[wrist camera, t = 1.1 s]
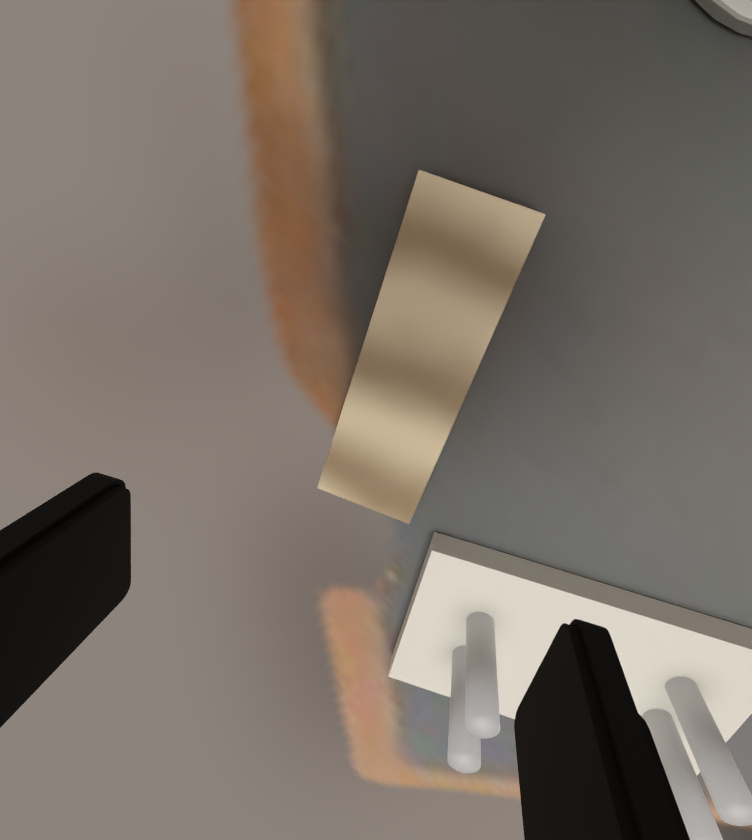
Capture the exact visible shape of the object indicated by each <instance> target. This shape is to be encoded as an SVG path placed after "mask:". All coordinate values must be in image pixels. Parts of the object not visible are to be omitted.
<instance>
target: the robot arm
mask: <svg viewBox="0 0 752 840" xmlns="http://www.w3.org/2000/svg"><path fill="white" fill-rule="evenodd" d="M695 1H696V2H697V3H698V4H699V5H700V6H701V7H702V8H703V9H704V10H705V11H706V12H707V13H708V14H709V15H710V16H711V17H712V18H713V19H715V20H716V21H718V22H720V23H722V24H724V25H725V26H727V27H729V28H731V29H733V30H734V31H736V32H738V33H740V34H743V35H747V36H751V37H752V0H695ZM130 506H131V505H130V492H129V490H128V489H126V487H125V483H124V482H123V481H122V480H120V479H117V478H113V477H110V476H107V475H103V474H100V473H92V474H90V475H88V476H87V477H85V478H83V479H82V480H80V481H79V482H77V483H75V484H74V485H72V486H71V487H69V488H67V489H66V490H64V491H63V492H61V493H59V494H58V495H56V496H55V497H53V498H51V499H50V500H48V501H47V502H45V503H43V504H42V505H40V506H39V507H37V508H35V509H34V510H32V511H31V512H29V513H27V514H26V515H24V516H23V517H21V518H19V519H18V520H16V521H15V522H13V523H11V524H10V525H8V526H7V527H5V528H3V529H2V530H0V727H1V726H2V725H3V724H4V723H5V722H6V721H7V720H8V719H9V718H10V717H11V716H12V715H13V714H14V713H15V712H16V711H17V709H19V707H20V706H21V705H22V704H23V703H24V702H25V701H26V700H27V699H28V698H29V697H30V696H31V695H32V694H33V693H34V692H35V691H36V690H37V689H38V688H39V687H40V686H41V684H42V683H43V682H44V681H45V680H46V679H47V678H48V677H49V676H50V675H51V674H52V673H53V672H54V671H55V670H56V669H57V668H58V667H59V666H60V664H62V662H63V661H64V660H65V659H66V658H67V657H68V656H69V655H70V654H71V653H72V652H73V651H74V650H75V649H76V648H77V647H78V646H79V645H80V644H81V643H82V642H83V640H85V638H86V637H87V636H88V635H89V634H90V633H91V632H92V631H93V630H94V629H95V628H96V627H97V626H98V625H99V624H100V623H101V622H102V621H103V620H104V619H105V618H106V617H107V615H108V614H109V613H110V612H111V611H112V610H113V609H114V608H115V607H116V606H117V605H118V604H119V603H120V602H121V601H122V600H123V598H124V597H125V596H126V594H127V592H128V590H129V587H130V583H131V521H130V520H131V508H130ZM514 727H515V740H516V751H517V762H518V773H519V783H520V794H521V805H522V816H523V826H524V837H525V840H690V838H689V835H688V832H687V830H686V827H685V824H684V822H683V819H682V816H681V813H680V811H679V808H678V805H677V803H676V800H675V797H674V794H673V792H672V789H671V786H670V783H669V781H668V778H667V775H666V773H665V770H664V767H663V764H662V762H661V759H660V756H659V753H658V751H657V748H656V745H655V743H654V740H653V737H652V734H651V732H650V729H649V727H648V725H647V723H646V721H645V720H644V719H643V718H642V716H641V715H640V714H638V711H637V709H636V706H635V703H634V700H633V697H632V695H631V692H630V689H629V686H628V683H627V680H626V678H625V675H624V672H623V669H622V666H621V664H620V661H619V658H618V655H617V652H616V650H615V647H614V644H613V641H612V638H611V635H610V633H609V631H608V630H607V629H606V628H605V627H602V626H598V625H595V624H592V623H589V622H585V621H582V620H579V619H574V620H573V621H572V622H571V623H570V625H569V624H566V623H563V624H562V625H561V626H560V628H559V630H558V632H557V634H556V636H555V637H554V639H553V641H552V643H551V645H550V647H549V649H548V651H547V653H546V655H545V657H544V659H543V661H542V662H541V664H540V666H539V668H538V670H537V672H536V674H535V676H534V678H533V680H532V682H531V684H530V686H529V687H528V689H527V691H526V693H525V695H524V697H523V699H522V701H521V703H520V705H519V707H518V709H517V712H516V716H515V725H514Z"/></svg>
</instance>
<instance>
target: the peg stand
mask: <svg viewBox="0 0 752 840" xmlns="http://www.w3.org/2000/svg"><path fill="white" fill-rule="evenodd" d="M574 619H579V620H582V621H585V622H589V623H592V624H595V625H598V626H602V627H605V628H606V629H607V630H608V631H609V633H610V635H611V638H612V641H613V644H614V647H615V650H616V652H617V655H618V658H619V661H620V664H621V666H622V669H623V672H624V675H625V678H626V680H627V683H628V686H629V689H630V692H631V695H632V697H633V700H634V703H635V706H636V709H637V711H638V714H640V715H641V716H642V718H643V719H644V720H645V721H646V723H647V725H648V727H649V729H650V732H651V734H652V737H653V740H654V743H655V745H656V748H657V751H658V753H659V756H660V759H661V762H662V764H663V767H664V770H665V773H666V775H667V778H668V781H669V783H670V786H671V789H672V792H673V794H674V797H675V800H676V803H677V805H678V808H679V811H680V813H681V816H682V819H683V822H684V824H685V827H686V830H687V832H688V835H689V838H690V840H723V839H722V836H721V834H720V831H719V829H718V827H717V824H716V822H715V819H714V817H713V814H712V812H711V810H710V807H709V805H708V802H707V800H706V797H705V795H704V793H703V790H702V788H701V785H700V783H699V781H698V778H697V775H698V774H699V773H700V772H701V774H702V777H703V779H704V781H705V784H706V786H707V788H708V791H709V793H710V796H711V798H712V800H713V803H714V805H715V807H716V810H717V812H718V814H719V817H720V818H721V819H722V820H723V821H724V822H726V823H728V824H731V825H736V826H747V825H751V824H752V795H751V793H750V791H749V789H748V787H747V785H746V783H745V781H744V779H743V777H742V775H741V773H740V771H739V769H738V767H737V765H736V763H735V761H734V759H733V757H732V755H731V753H730V751H729V749H728V747H727V745H726V742H727V741H728V740H729V739H730V737H731V736H732V735H733V734H734V733H735V732H736V731H737V729H738V728H739V727H740V726H741V725H742V724H743V723H744V721H745V720H746V719H747V718H748V717H749V716H750V715H751V713H752V629H751V628H747V627H744V626H741V625H738V624H734V623H731V622H728V621H725V620H721V619H718V618H715V617H712V616H708V615H705V614H702V613H698V612H695V611H692V610H689V609H685V608H682V607H679V606H676V605H672V604H669V603H666V602H663V601H659V600H656V599H653V598H650V597H646V596H643V595H640V594H636V593H633V592H630V591H627V590H623V589H620V588H617V587H614V586H610V585H607V584H604V583H601V582H597V581H594V580H591V579H587V578H584V577H581V576H578V575H574V574H571V573H568V572H565V571H561V570H558V569H555V568H552V567H548V566H545V565H542V564H539V563H535V562H532V561H529V560H525V559H522V558H519V557H516V556H512V555H509V554H506V553H503V552H499V551H496V550H493V549H490V548H486V547H483V546H480V545H477V544H473V543H470V542H467V541H463V540H460V539H457V538H454V537H450V536H447V535H444V534H441V533H437V532H434V534H433V537H432V540H431V543H430V546H429V548H428V551H427V554H426V557H425V560H424V563H423V566H422V569H421V572H420V575H419V578H418V581H417V584H416V587H415V589H414V592H413V595H412V598H411V601H410V604H409V607H408V610H407V613H406V616H405V619H404V622H403V625H402V628H401V631H400V633H399V636H398V639H397V642H396V645H395V648H394V651H393V654H392V659H391V665H390V670H389V675H388V676H389V677H392V678H395V679H398V680H400V681H403V682H406V683H409V684H412V685H415V686H418V687H421V688H424V689H427V690H430V691H433V692H436V693H439V694H442V695H445V696H448V697H450V717H449V739H448V763H449V765H450V766H451V767H452V768H453V769H455V770H456V771H459V772H462V773H474V772H476V771H478V770H479V769H480V767H481V738H492V737H495V736H496V735H498V733H499V732H500V716H499V714H501V715H504V716H507V717H510V718H513V719H515V716H516V712H517V709H518V707H519V705H520V703H521V701H522V699H523V697H524V695H525V693H526V691H527V689H528V687H529V686H530V684H531V682H532V680H533V678H534V676H535V674H536V672H537V670H538V668H539V666H540V664H541V662H542V661H543V659H544V657H545V655H546V653H547V651H548V649H549V647H550V645H551V643H552V641H553V639H554V637H555V636H556V634H557V632H558V630H559V628H560V626H561V625H562V624H563V623H566V624H569V625H570V623H571V622H572V621H573V620H574Z"/></svg>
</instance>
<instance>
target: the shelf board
mask: <svg viewBox="0 0 752 840" xmlns="http://www.w3.org/2000/svg"><path fill="white" fill-rule="evenodd" d="M545 215H546V214H543V213H540V212H538V211H535V210H532V209H529V208H526V207H523V206H521V205H518V204H515V203H512V202H509V201H506V200H504V199H501V198H498V197H495V196H492V195H489V194H487V193H484V192H481V191H478V190H475V189H472V188H470V187H467V186H464V185H461V184H458V183H455V182H453V181H450V180H447V179H444V178H441V177H438V176H436V175H433V174H430V173H427V172H424V171H421V170H419V171H418V174H417V177H416V180H415V183H414V187H413V190H412V193H411V196H410V199H409V202H408V205H407V208H406V212H405V215H404V218H403V221H402V224H401V227H400V230H399V234H398V237H397V240H396V243H395V246H394V249H393V252H392V256H391V259H390V262H389V265H388V268H387V271H386V274H385V277H384V281H383V284H382V287H381V290H380V293H379V296H378V299H377V303H376V306H375V309H374V312H373V315H372V318H371V321H370V325H369V328H368V331H367V334H366V337H365V340H364V343H363V346H362V350H361V353H360V356H359V359H358V362H357V365H356V368H355V372H354V375H353V378H352V381H351V384H350V387H349V390H348V394H347V397H346V400H345V403H344V406H343V409H342V412H341V415H340V419H339V422H338V425H337V428H336V431H335V434H334V437H333V441H332V444H331V447H330V450H329V453H328V456H327V459H326V463H325V466H324V469H323V472H322V475H321V478H320V481H319V485H318V488H319V489H321V490H324V491H326V492H329V493H331V494H334V495H336V496H339V497H341V498H344V499H346V500H349V501H352V502H354V503H357V504H359V505H362V506H364V507H367V508H369V509H372V510H374V511H377V512H380V513H382V514H385V515H387V516H390V517H392V518H395V519H397V520H400V521H402V522H405V523H408V524H409V523H410V521H411V519H412V516H413V514H414V512H415V510H416V507H417V505H418V503H419V501H420V498H421V496H422V494H423V492H424V489H425V487H426V485H427V482H428V480H429V478H430V476H431V473H432V471H433V469H434V467H435V464H436V462H437V460H438V458H439V455H440V453H441V451H442V448H443V446H444V444H445V442H446V439H447V437H448V435H449V433H450V430H451V428H452V426H453V423H454V421H455V419H456V417H457V414H458V412H459V410H460V408H461V405H462V403H463V401H464V399H465V396H466V394H467V392H468V389H469V387H470V385H471V383H472V380H473V378H474V376H475V374H476V371H477V369H478V367H479V364H480V362H481V360H482V358H483V355H484V353H485V351H486V349H487V346H488V344H489V342H490V340H491V337H492V335H493V333H494V330H495V328H496V326H497V324H498V321H499V319H500V317H501V315H502V312H503V310H504V308H505V306H506V303H507V301H508V299H509V296H510V294H511V292H512V290H513V287H514V285H515V283H516V281H517V278H518V276H519V274H520V271H521V269H522V267H523V265H524V262H525V260H526V258H527V256H528V253H529V251H530V249H531V247H532V244H533V242H534V240H535V237H536V235H537V233H538V231H539V228H540V226H541V224H542V222H543V219H544V217H545Z"/></svg>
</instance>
